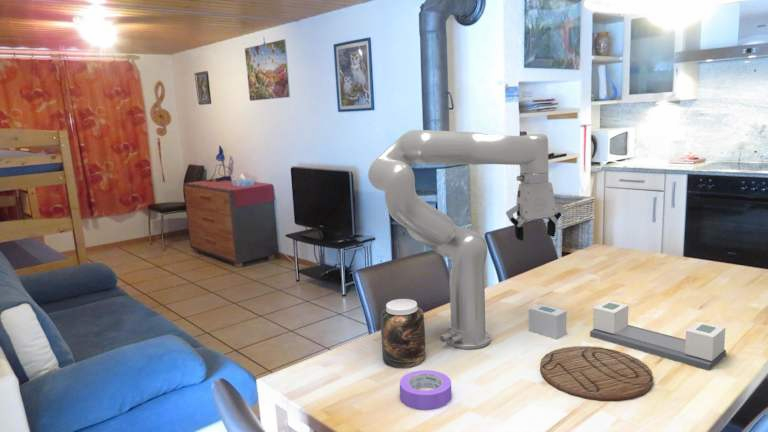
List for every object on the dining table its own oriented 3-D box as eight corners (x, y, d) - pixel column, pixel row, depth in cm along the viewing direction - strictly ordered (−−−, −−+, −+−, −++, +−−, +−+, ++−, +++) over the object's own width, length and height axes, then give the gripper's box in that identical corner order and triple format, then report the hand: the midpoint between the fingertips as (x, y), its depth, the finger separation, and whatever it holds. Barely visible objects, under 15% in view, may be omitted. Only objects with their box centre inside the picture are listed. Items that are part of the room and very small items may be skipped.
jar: (376, 353, 147) (372, 301, 144) (415, 345, 151) (413, 294, 148) (391, 372, 136) (388, 315, 133) (433, 362, 140) (431, 307, 137)
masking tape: (447, 383, 129) (447, 368, 129) (455, 408, 118) (455, 392, 117) (398, 386, 129) (397, 371, 128) (401, 412, 118) (401, 396, 117)
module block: (556, 340, 150) (556, 315, 148) (528, 331, 156) (528, 307, 155) (566, 334, 153) (566, 310, 152) (538, 326, 160) (538, 303, 158)
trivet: (582, 412, 114) (582, 404, 114) (520, 362, 138) (520, 355, 138) (678, 390, 121) (679, 382, 121) (604, 346, 145) (604, 339, 144)
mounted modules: (711, 361, 129) (713, 336, 128) (592, 328, 151) (593, 307, 150) (724, 350, 134) (725, 326, 133) (607, 320, 156) (607, 299, 155)
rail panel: (709, 370, 128) (709, 363, 128) (590, 336, 151) (590, 329, 150) (725, 355, 135) (726, 348, 135) (609, 324, 158) (609, 318, 157)
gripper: (511, 182, 147) (513, 244, 151) (569, 177, 151) (569, 237, 154) (500, 180, 155) (502, 238, 158) (556, 174, 158) (556, 231, 161)
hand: (535, 237), depth 156 cm, fingers open, 9 cm apart
